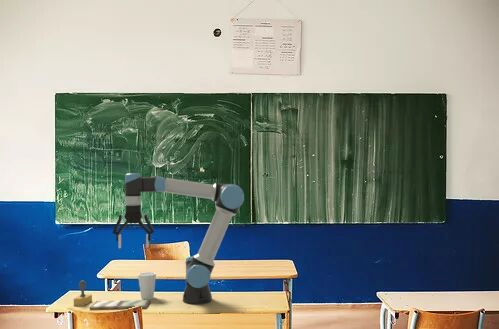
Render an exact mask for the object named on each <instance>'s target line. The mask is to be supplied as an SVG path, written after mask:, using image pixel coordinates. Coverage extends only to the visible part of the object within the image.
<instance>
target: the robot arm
mask: <svg viewBox="0 0 499 329" xmlns="http://www.w3.org/2000/svg"><path fill="white" fill-rule="evenodd" d="M124 177H125V178H124V200H125V201H124V203H125V206H124V207H125V214H122V213H121V214H119V215H118V219H117V222H116V224H115V225H114V228H113V230H112V232H111V233H112V234H114V235H115V237H116V239H115V240H116V242H117V243H118V249H121V248H122V234H120V233H121V232H122V231H123V230H124V229H125V228H126V226H127V225H128V224H131V225H132V224H135V225H136V224H138V225H140V227H141V228H142V229H143V231H144V232H146V233H147V234H146V235H145V236H146V237H145V241H146V242H145V245H146V246H145V248H146V249H148V248H149V247H150V242H151V240H152V234H154V233H155V232H156V231H155V229H154V227H153V225H152V224H151V221H150V219H149V216H148V215H149V214H148V213H146V214H145V213H144V214H142V206H141V205H142V204H141V203H142V197H141V196H142V195H141V194H142V193H168V194H174V195H183V196H188V197H195V198H201V199H209V200H211V201H212V202H215V205H214V206H215V209H216V210H215V212H214V215H213V217H212V219H211V222H210V224H209V227H208V229H207V230H206V233H205V236H204V238H203V240H202V242H201V246H200V247H199V249H198V252H197V254H194V255H192V256H187V257H186V258H185V263H184V264H185V288H184V293H183V294H182V302H184V303H185V304H193V305H199V304H200V305H201V304H206V303H207V304H208V303H210V302H212V301H213V294H212V292H211V289H210V286H209V282H210V280H211V278H212V277H211V275H212V273H213V270H214V267H215V266H216V265H215V264H216V263H215V262H214V261H215V258H216V256H217V253H218V251H219V249H220V246H221V243H222V241H223V239H224V237H225V234H226V231H227V229H228V227H229V224H230V223H231V220H232V218H233V217H234V216H236V215H237V214H238V211H239V209H240V207H241V206H242V205H243V203H244V201H245V193H244V190H243V189H242V188H241V187H240V186H239V185H237V184H234V183H214V184H210V183H204V182H196V181H191V180H190V181H189V180H182V179H176V178H170V177H169V178H168V177H163V176H157V175H152V176H146V177H145V176H144V177H143V176H142V175H141V173H138V172H137V173H131V172H130V173H126V174H125V176H124ZM142 218H143V220H144V221H145V222H146V225H147V226H146V225H145V224H144V222H143V221H142V220H141V219H142ZM124 219H125V221H124V223H123V224H122V225H121V222H122V221H123V220H124ZM120 225H121V227H120V228H119V226H120Z"/></svg>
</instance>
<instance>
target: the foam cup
mask: <svg viewBox="0 0 499 329" xmlns="http://www.w3.org/2000/svg"><path fill="white" fill-rule="evenodd" d="M137 279H138V285H139V291H140V298H141V300H152V299H154V296H155V295H154V294H155V287H156V279H157V273H156V272H155V271H145V272H139V273H138V274H137Z"/></svg>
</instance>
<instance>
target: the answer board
mask: <svg viewBox="0 0 499 329" xmlns="http://www.w3.org/2000/svg"><path fill="white" fill-rule="evenodd" d="M151 301H152V299H148V300H144V299H138V300H137V299H136V300H134V299H133V300H132V299H131V300H130V299H129V300H128V299H127V300H96V301H94V303H93V304H92V305H91V306H90V307H89V311H92V310H93V311H94V310H95V311H96V310H97V311H99V310H105V311H106V310H107V311H108V310H129V309H128V308H132V307H135V306H141V307H142V309H141V310H147V309H148V307H149V305H150V304H151Z"/></svg>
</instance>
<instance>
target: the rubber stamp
mask: <svg viewBox="0 0 499 329" xmlns="http://www.w3.org/2000/svg"><path fill="white" fill-rule="evenodd" d="M86 286H87V282H86V281H85V280H80V281H79V283H78V287H79V289H80V292H81V293H80V294H79V295H78V296H76V297H74V298H73V307H74V306H78V307H85V306H87V305H88V304H89V303H91V302H93V294H92V293H85V289H86Z"/></svg>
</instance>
